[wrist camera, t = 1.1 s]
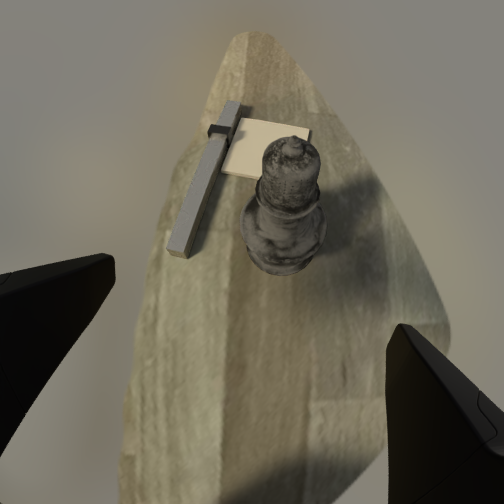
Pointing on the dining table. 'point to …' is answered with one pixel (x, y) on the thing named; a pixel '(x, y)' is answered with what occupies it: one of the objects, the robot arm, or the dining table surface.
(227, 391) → the dining table surface
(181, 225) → the white rectangular bar
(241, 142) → the groove pad
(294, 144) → the dark grey tiered figure
